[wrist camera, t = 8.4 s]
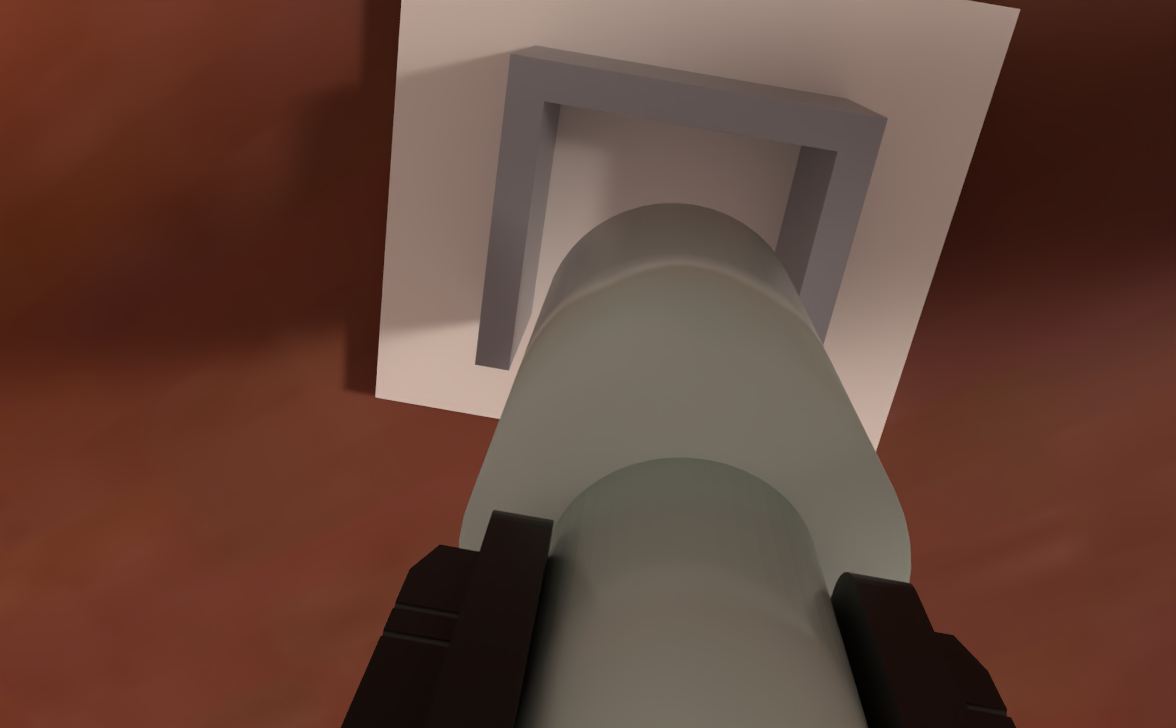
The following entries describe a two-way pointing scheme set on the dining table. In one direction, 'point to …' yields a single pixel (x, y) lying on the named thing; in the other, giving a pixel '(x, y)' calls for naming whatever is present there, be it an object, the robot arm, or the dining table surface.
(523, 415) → the bottle
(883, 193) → the u rest
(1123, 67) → the dining table surface
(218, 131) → the dining table surface
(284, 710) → the dining table surface
